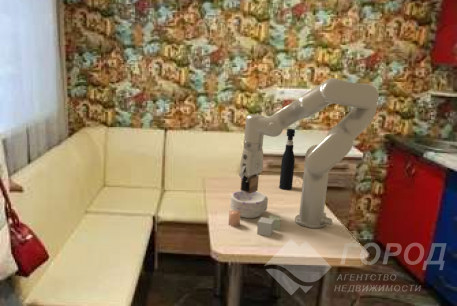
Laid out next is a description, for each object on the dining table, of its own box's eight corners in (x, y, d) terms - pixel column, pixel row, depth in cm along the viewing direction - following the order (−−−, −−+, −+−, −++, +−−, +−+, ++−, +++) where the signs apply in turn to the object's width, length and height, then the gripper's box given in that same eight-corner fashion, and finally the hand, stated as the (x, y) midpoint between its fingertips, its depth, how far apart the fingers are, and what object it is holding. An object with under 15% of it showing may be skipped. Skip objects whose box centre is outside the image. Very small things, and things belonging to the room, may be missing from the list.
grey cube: (273, 231, 158) (274, 219, 157) (270, 236, 154) (271, 224, 153) (260, 229, 160) (261, 217, 159) (257, 234, 155) (258, 221, 154)
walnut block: (257, 190, 173) (258, 176, 171) (250, 193, 169) (251, 179, 167) (247, 187, 176) (248, 174, 174) (240, 190, 172) (241, 176, 170)
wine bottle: (292, 190, 209) (298, 130, 202) (279, 189, 209) (285, 130, 202) (291, 186, 215) (296, 128, 208) (278, 185, 215) (283, 127, 208)
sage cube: (278, 225, 164) (279, 216, 163) (279, 229, 161) (280, 220, 160) (268, 224, 165) (269, 215, 164) (269, 229, 161) (269, 219, 160)
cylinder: (242, 224, 163) (243, 212, 162) (235, 227, 160) (236, 215, 159) (233, 221, 166) (233, 209, 165) (226, 224, 162) (227, 212, 161)
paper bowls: (246, 224, 164) (248, 204, 162) (222, 211, 175) (223, 193, 173) (274, 216, 174) (275, 198, 172) (249, 205, 185) (250, 187, 183)
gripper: (248, 150, 159) (244, 196, 163) (272, 144, 172) (268, 187, 176) (232, 146, 163) (229, 191, 167) (257, 141, 177) (253, 182, 181)
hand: (249, 188), depth 172 cm, fingers closed on walnut block, 5 cm apart
